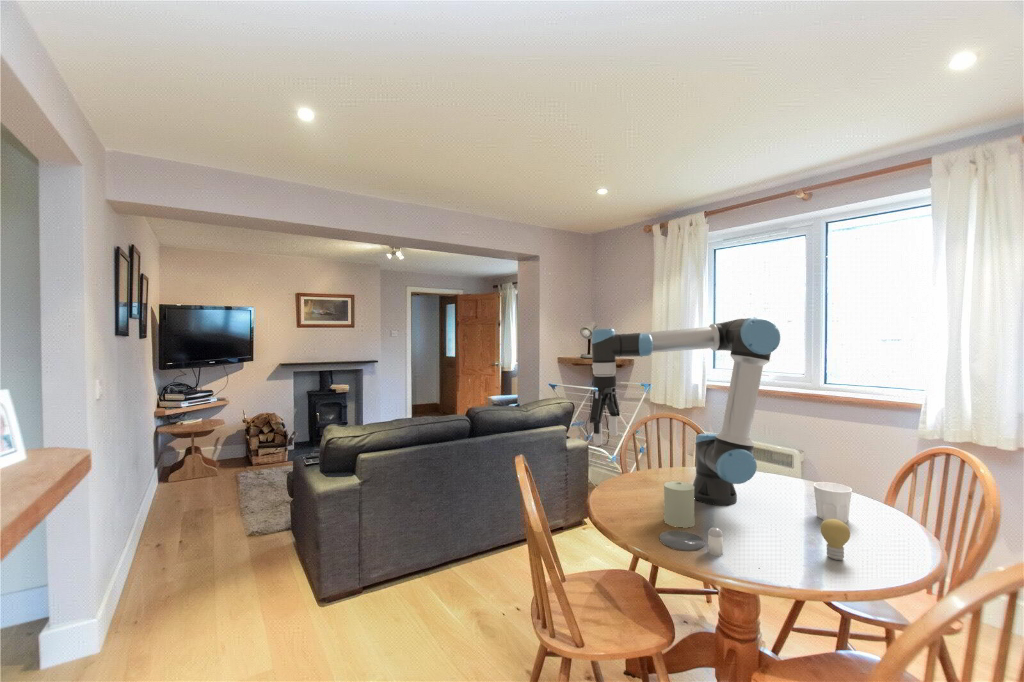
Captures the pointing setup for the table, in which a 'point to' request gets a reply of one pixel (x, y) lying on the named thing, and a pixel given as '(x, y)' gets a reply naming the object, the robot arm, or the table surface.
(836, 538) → the light bulb
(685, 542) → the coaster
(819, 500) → the cup
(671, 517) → the can
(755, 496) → the table surface
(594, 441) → the robot arm
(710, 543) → the salt shaker
